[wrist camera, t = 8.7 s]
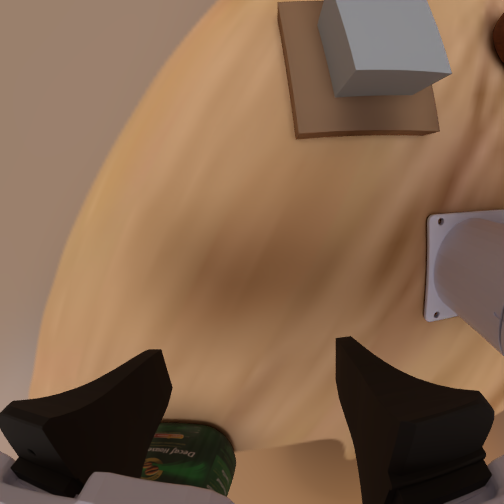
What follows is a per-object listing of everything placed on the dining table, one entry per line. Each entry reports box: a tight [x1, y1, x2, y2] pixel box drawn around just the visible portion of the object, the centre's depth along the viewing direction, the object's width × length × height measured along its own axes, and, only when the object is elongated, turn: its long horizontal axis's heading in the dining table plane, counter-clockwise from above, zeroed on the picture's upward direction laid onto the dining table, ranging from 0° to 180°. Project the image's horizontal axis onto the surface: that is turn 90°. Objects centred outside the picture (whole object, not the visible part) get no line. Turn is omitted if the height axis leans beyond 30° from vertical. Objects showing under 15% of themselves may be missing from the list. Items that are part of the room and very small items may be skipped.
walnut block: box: [278, 1, 440, 139], centre depth 16 cm, size 9×9×3 cm
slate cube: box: [317, 0, 452, 98], centre depth 12 cm, size 5×5×5 cm
